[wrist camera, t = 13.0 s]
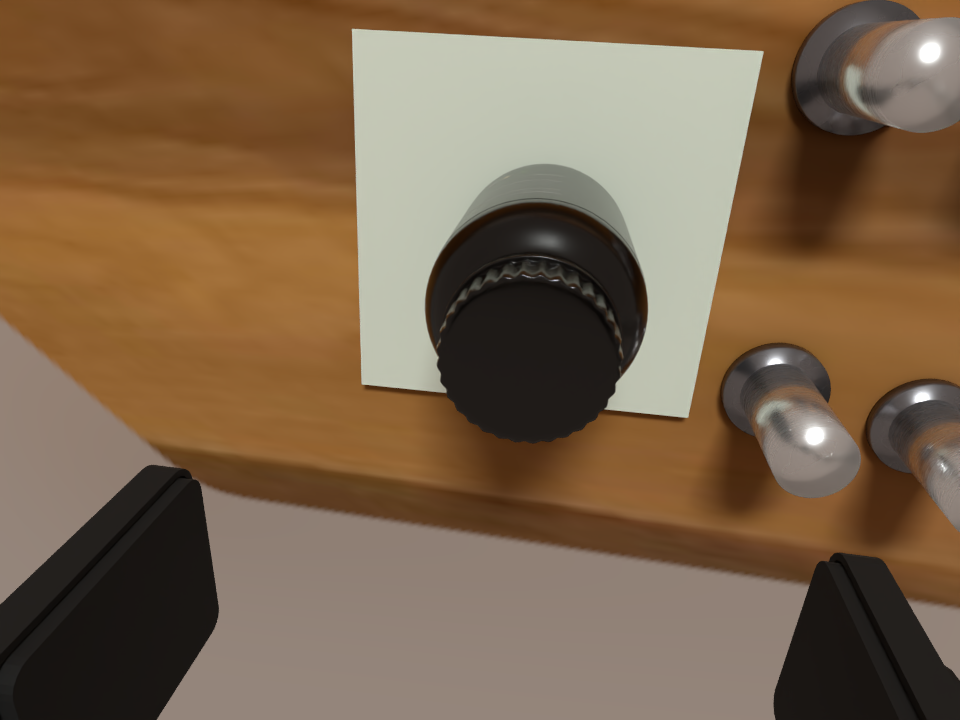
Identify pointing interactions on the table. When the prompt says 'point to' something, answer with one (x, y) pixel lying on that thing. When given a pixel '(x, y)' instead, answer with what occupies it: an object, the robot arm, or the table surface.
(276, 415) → the table surface
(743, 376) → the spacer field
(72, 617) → the robot arm
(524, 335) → the supplement bottle
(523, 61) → the sage pad
